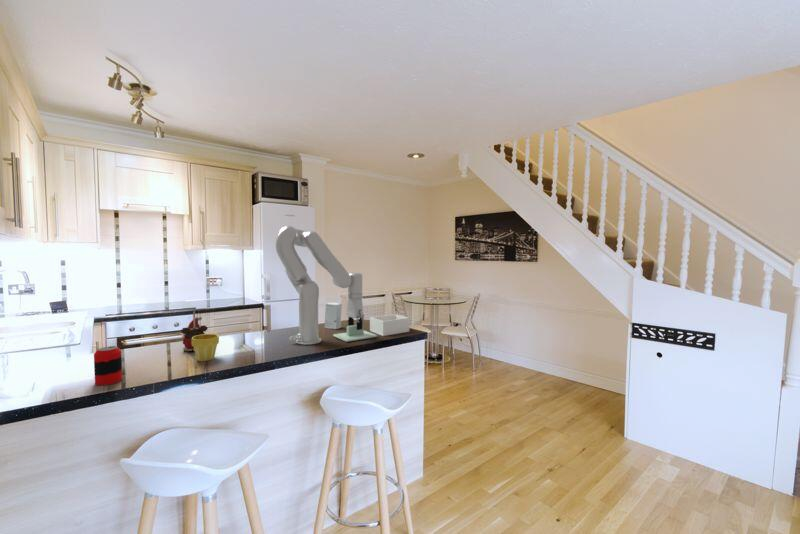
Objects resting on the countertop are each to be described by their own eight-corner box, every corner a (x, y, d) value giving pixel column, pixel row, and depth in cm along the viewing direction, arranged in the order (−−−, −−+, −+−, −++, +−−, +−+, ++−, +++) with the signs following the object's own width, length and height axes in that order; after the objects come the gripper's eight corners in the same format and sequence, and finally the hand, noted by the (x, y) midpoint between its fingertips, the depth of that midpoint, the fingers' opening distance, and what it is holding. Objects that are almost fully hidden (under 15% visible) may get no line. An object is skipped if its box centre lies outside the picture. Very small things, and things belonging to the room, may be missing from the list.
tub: (383, 335, 198) (383, 321, 197) (369, 330, 209) (369, 317, 209) (409, 331, 208) (409, 317, 208) (395, 327, 220) (395, 314, 219)
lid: (346, 343, 183) (345, 330, 183) (333, 337, 195) (333, 325, 195) (377, 338, 194) (377, 325, 194) (363, 333, 206) (363, 321, 206)
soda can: (127, 377, 133) (126, 345, 132) (111, 385, 125) (110, 351, 124) (106, 377, 132) (105, 345, 132) (89, 385, 125) (87, 351, 124)
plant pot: (224, 356, 159) (224, 334, 158) (206, 363, 149) (205, 340, 149) (205, 354, 162) (204, 332, 161) (186, 361, 152) (185, 338, 151)
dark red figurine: (183, 353, 163) (182, 314, 162) (180, 349, 170) (179, 311, 169) (209, 349, 169) (208, 311, 168) (205, 345, 177) (204, 308, 176)
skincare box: (324, 328, 215) (324, 303, 214) (329, 326, 221) (329, 302, 220) (336, 329, 212) (336, 304, 211) (341, 327, 218) (341, 302, 217)
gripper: (341, 294, 198) (341, 325, 199) (356, 298, 184) (356, 331, 185) (353, 293, 203) (353, 324, 203) (369, 297, 189) (369, 330, 189)
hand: (355, 327), depth 194 cm, fingers open, 9 cm apart
